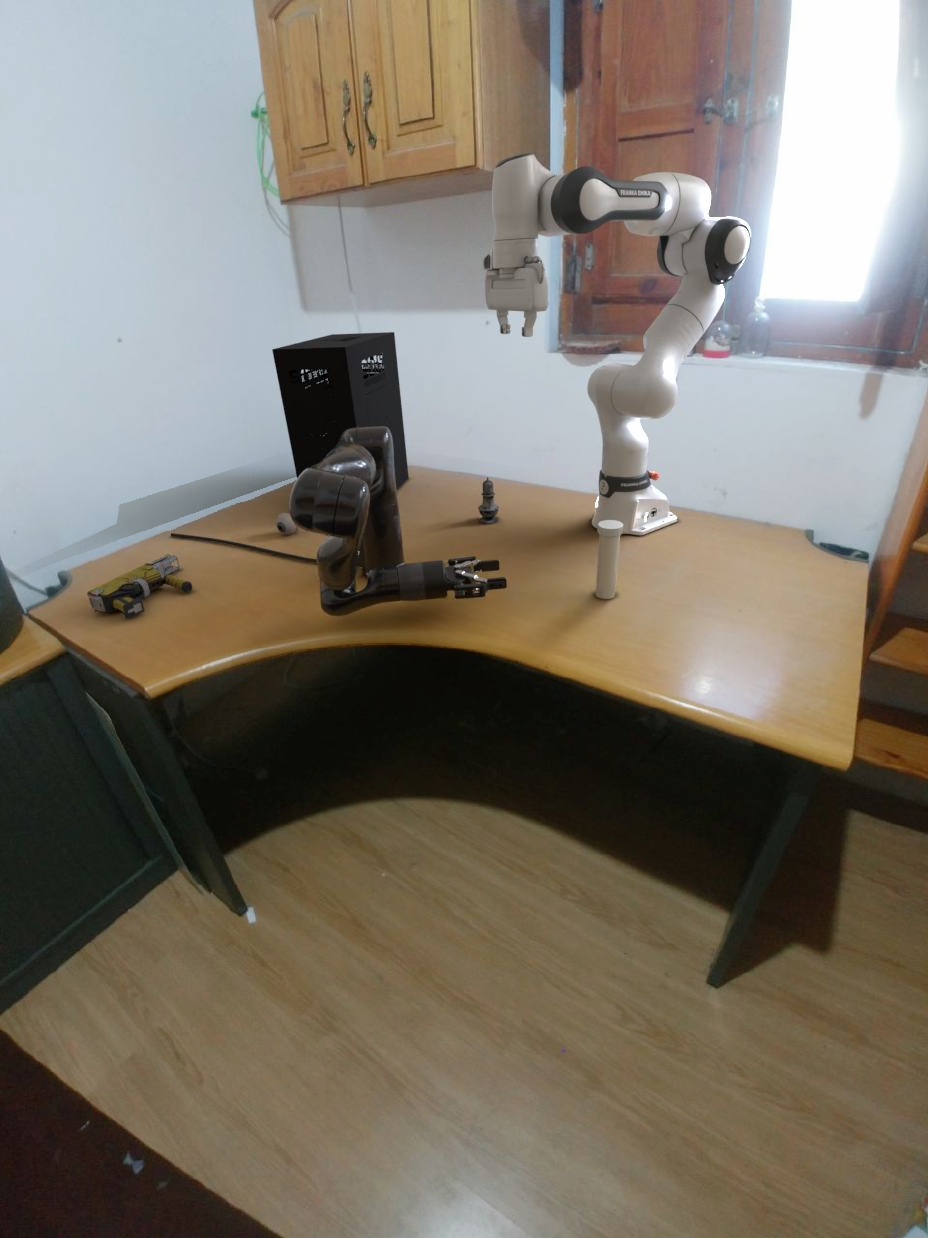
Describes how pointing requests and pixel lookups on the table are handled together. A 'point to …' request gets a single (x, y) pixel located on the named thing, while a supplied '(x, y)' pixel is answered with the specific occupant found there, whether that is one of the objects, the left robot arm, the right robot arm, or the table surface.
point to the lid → (610, 528)
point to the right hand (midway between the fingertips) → (516, 335)
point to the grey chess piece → (488, 504)
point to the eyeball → (286, 524)
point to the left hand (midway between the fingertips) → (502, 573)
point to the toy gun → (136, 587)
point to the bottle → (607, 566)
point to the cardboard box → (340, 394)
